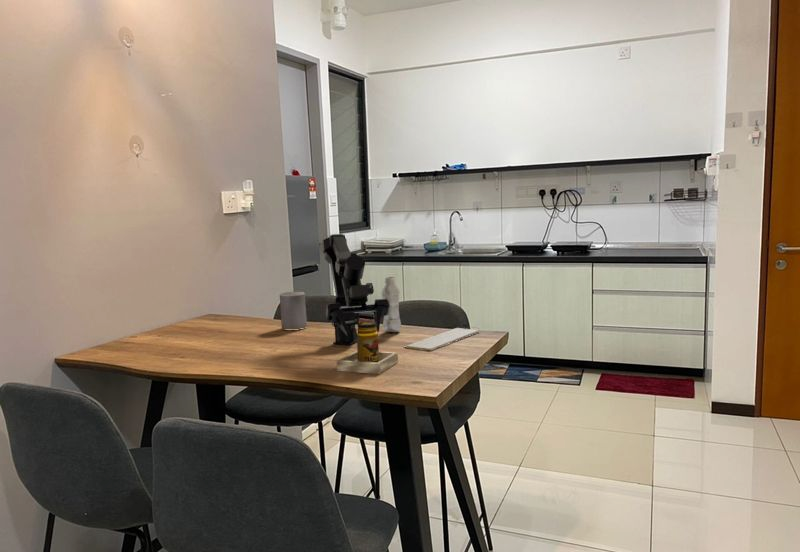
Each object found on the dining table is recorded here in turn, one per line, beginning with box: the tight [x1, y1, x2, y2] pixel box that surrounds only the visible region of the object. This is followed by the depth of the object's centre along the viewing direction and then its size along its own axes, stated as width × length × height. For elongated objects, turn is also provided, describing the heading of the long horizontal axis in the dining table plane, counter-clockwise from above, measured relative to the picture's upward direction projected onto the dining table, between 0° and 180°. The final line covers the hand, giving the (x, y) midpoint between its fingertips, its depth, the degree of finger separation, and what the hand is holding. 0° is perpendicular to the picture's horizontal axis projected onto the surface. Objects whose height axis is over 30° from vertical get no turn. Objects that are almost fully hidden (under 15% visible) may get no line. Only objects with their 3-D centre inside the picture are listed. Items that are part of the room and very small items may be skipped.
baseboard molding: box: [403, 324, 480, 352], centre depth 200 cm, size 31×3×12 cm
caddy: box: [336, 350, 399, 375], centre depth 169 cm, size 13×13×3 cm
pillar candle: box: [279, 290, 308, 330], centre depth 229 cm, size 10×10×15 cm
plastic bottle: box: [381, 276, 402, 333], centre depth 214 cm, size 6×7×20 cm
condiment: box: [355, 321, 380, 363], centre depth 168 cm, size 7×8×12 cm
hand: (362, 333), depth 173 cm, fingers open, 9 cm apart
